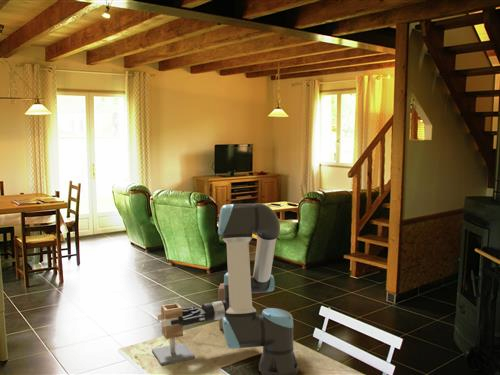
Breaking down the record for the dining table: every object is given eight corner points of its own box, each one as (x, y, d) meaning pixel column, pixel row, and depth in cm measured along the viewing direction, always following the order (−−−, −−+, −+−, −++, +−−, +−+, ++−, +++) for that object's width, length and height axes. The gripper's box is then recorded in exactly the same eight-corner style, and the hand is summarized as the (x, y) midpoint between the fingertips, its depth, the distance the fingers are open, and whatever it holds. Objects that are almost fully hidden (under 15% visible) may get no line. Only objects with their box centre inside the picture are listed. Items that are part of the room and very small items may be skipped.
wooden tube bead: (183, 336, 200) (182, 307, 199) (166, 339, 197) (165, 310, 196) (178, 330, 206) (177, 302, 205) (162, 333, 203) (161, 305, 202)
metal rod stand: (194, 358, 197) (194, 332, 196) (161, 365, 191) (160, 338, 190) (183, 345, 211) (182, 320, 210) (151, 351, 205) (151, 326, 204)
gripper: (221, 327, 200) (167, 337, 190) (204, 312, 218) (154, 321, 208) (220, 309, 199) (166, 319, 189) (204, 296, 217) (153, 304, 207)
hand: (160, 320), depth 199 cm, fingers closed on wooden tube bead, 7 cm apart
